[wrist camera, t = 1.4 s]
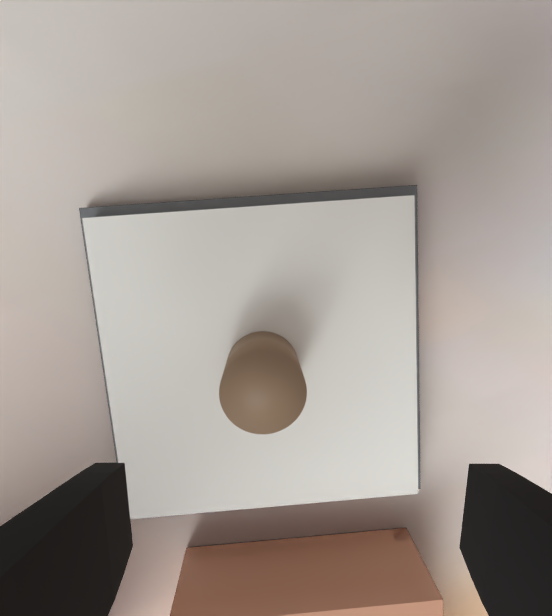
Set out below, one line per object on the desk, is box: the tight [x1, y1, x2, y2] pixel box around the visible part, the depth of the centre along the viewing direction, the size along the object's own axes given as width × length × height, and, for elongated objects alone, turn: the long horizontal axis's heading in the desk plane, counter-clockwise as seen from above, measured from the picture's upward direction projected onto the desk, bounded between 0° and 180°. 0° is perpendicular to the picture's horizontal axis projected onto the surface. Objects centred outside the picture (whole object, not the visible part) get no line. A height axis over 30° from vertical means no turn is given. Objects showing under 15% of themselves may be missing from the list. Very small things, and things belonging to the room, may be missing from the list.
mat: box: [79, 185, 420, 489], centre depth 17 cm, size 14×14×1 cm
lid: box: [82, 195, 418, 519], centre depth 15 cm, size 13×13×4 cm
